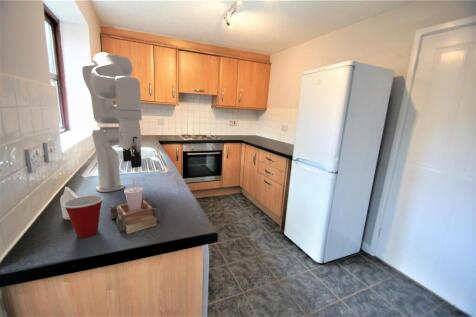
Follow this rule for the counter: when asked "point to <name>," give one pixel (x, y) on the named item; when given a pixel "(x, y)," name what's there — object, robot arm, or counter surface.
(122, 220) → the chassis
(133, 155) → the robot arm
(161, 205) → the counter surface
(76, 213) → the plastic cup
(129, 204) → the smoothie
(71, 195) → the roll
